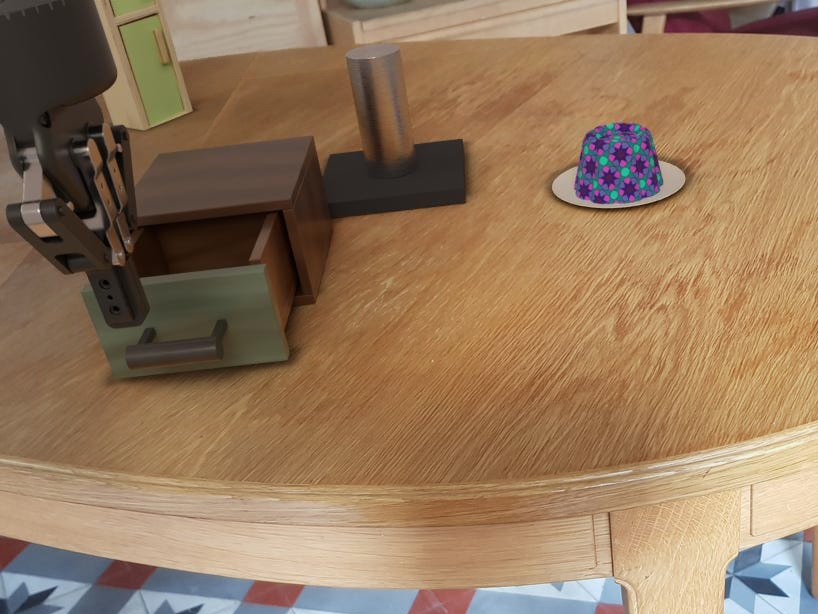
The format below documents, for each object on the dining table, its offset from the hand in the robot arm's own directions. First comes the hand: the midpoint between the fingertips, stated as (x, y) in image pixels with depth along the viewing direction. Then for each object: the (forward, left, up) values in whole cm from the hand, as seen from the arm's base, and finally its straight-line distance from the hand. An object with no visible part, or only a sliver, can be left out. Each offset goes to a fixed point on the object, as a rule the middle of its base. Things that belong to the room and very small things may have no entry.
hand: (130, 321), depth 55 cm
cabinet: (0, +26, -9) cm, 28 cm away
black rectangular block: (+12, +43, -9) cm, 46 cm away
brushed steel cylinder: (+12, +43, -8) cm, 45 cm away
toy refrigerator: (-20, +74, -10) cm, 77 cm away
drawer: (0, +13, -8) cm, 16 cm away
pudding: (+33, +35, -10) cm, 49 cm away
